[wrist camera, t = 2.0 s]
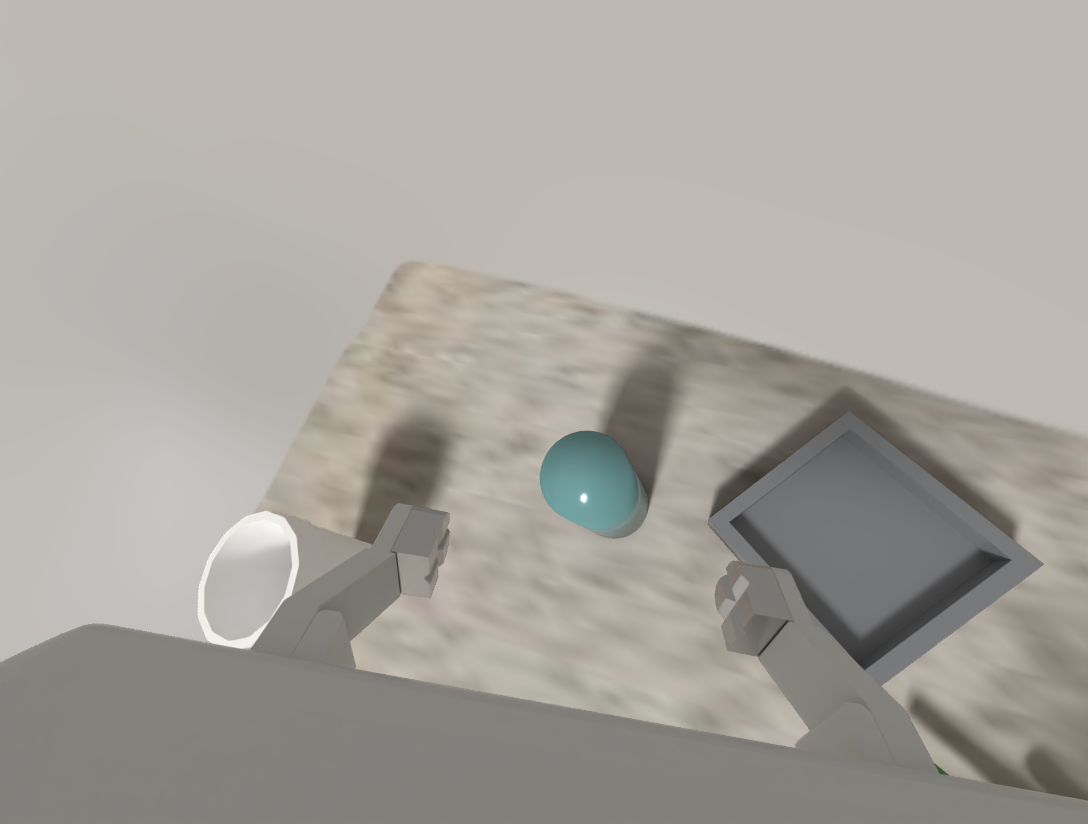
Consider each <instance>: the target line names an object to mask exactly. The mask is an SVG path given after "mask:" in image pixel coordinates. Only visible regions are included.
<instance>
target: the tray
mask: <svg viewBox="0 0 1088 824" xmlns="http://www.w3.org/2000/svg"><path fill="white" fill-rule="evenodd" d="M708 525H709V526H710V528H711V529H712V530H713V531H714V532H715V533H716V534H717V536H718V537H719V538H720V539H721V540H722V541H723V542H724V544H725V545H726V546H727V547H728V548H729V549H730V550H731V552H732V553H733V554H734V555H735V556H736V557H737V558H738V560H739V561H740V562H745V563H751V564H758V565H764V566H767V567H774V568H780V569H786V570H788V571H789V572H790V573H791V574H792V577H793V579H794V581H795V583H796V586H797V588H798V590H799V592H800V595H801V597H802V599H803V601H804V604H805V606H806V608H807V610H808V613H809V615H810V617H811V619H812V622H813V624H814V626H819V627H821V628H822V629H823V630H824V631H825V632H826V633H827V634H828V635H829V636H830V637H831V638H832V639H833V640H834V641H835V642H836V643H837V644H838V645H839V646H840V647H841V648H842V649H843V650H844V651H845V652H846V653H847V654H848V655H849V656H850V657H851V658H852V659H853V660H854V661H855V662H856V663H858V664H859V665H860V666H861V667H862V668H863V669H864V670H865V671H866V672H867V673H868V674H869V675H870V676H871V677H872V678H873V679H874V680H875V681H876V682H877V683H878V684H879V685H880V686H882V685H883V684H884V683H886V682H887V681H888V680H890V679H891V678H892V677H894V676H895V675H896V674H898V673H899V672H901V671H902V670H903V669H905V668H906V667H907V666H909V665H910V664H911V663H913V662H914V661H915V660H917V659H918V658H919V657H921V656H922V655H923V654H925V653H926V652H927V651H929V650H930V649H931V648H933V647H934V646H935V645H937V644H938V643H939V642H941V641H942V640H943V639H945V638H946V637H947V636H949V635H950V634H951V633H953V632H954V631H955V630H957V629H958V628H959V627H961V626H962V625H964V624H965V623H966V622H968V621H969V620H970V619H972V618H973V617H974V616H976V615H977V614H978V613H980V612H981V611H982V610H984V609H985V608H986V607H988V606H989V605H990V604H992V603H993V602H994V601H996V600H997V599H998V598H1000V597H1001V596H1002V595H1004V594H1005V593H1006V592H1008V591H1009V590H1010V589H1012V588H1013V587H1014V586H1016V585H1017V584H1018V583H1020V582H1021V581H1022V580H1024V579H1025V578H1026V577H1028V576H1029V575H1031V574H1032V573H1033V572H1035V571H1036V570H1037V569H1039V568H1040V567H1041V566H1043V565H1044V564H1043V563H1042V562H1041V561H1039V560H1038V559H1037V558H1036V557H1034V556H1033V555H1032V554H1031V553H1029V552H1028V551H1027V550H1025V549H1024V548H1023V547H1022V546H1020V545H1019V544H1018V543H1017V542H1015V541H1014V540H1013V539H1012V538H1010V537H1009V536H1008V535H1006V534H1005V533H1004V532H1003V531H1001V530H1000V529H999V528H998V527H996V526H995V525H994V524H992V523H991V522H990V521H989V520H987V519H986V518H985V517H984V516H982V515H981V514H980V513H978V512H977V511H976V510H975V509H973V508H972V507H971V506H970V505H968V504H967V503H966V502H965V501H963V500H962V499H961V498H959V497H958V496H957V495H956V494H954V493H953V492H952V491H951V490H949V489H948V488H947V487H945V486H944V485H943V484H942V483H940V482H939V481H938V480H937V479H935V478H934V477H933V476H931V475H930V474H929V473H928V472H926V471H925V470H924V469H923V468H921V467H920V466H919V465H918V464H916V463H915V462H914V461H912V460H911V459H910V458H909V457H907V456H906V455H905V454H904V453H902V452H901V451H900V450H898V449H897V448H896V447H895V446H893V445H892V444H891V443H890V442H888V441H887V440H886V439H884V438H883V437H882V436H881V435H879V434H878V433H877V432H876V431H874V430H873V429H872V428H871V427H869V426H868V425H867V424H865V423H864V422H863V421H862V420H860V419H859V418H858V417H857V416H855V415H854V414H853V413H851V412H850V411H848V412H846V413H845V414H844V415H842V416H841V417H840V418H839V419H837V420H836V421H835V422H833V423H832V424H831V425H830V426H828V427H827V428H826V429H824V430H823V431H822V432H821V433H819V434H818V435H817V436H815V437H814V438H813V439H811V440H810V441H809V442H808V443H806V444H805V445H804V446H802V447H801V448H800V449H799V450H797V451H796V452H795V453H793V454H792V455H791V456H789V457H788V458H787V459H786V460H784V461H783V462H782V463H780V464H779V465H778V466H777V467H775V468H774V469H773V470H771V471H770V472H769V473H768V474H766V475H765V476H764V477H762V478H761V479H760V480H758V481H757V482H756V483H755V484H753V485H752V486H751V487H749V488H748V489H747V490H746V491H744V492H743V493H742V494H740V495H739V496H738V497H737V498H735V499H734V500H733V501H731V502H730V503H729V504H727V505H726V506H725V507H724V508H722V509H721V510H720V511H718V512H717V513H716V514H715V515H713V516H712V517H711V518H709V519H708Z"/></svg>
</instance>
